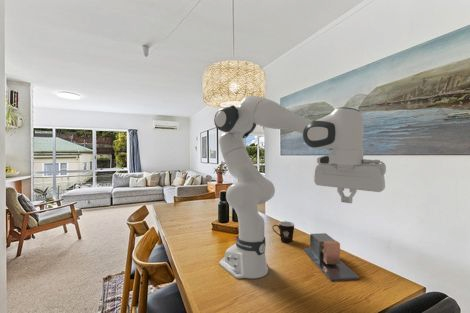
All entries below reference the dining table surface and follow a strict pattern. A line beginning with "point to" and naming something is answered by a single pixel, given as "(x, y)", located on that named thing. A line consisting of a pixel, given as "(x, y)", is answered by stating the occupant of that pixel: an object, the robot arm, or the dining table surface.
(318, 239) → the housing
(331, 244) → the shaft
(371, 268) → the dining table surface
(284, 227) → the coffee mug
